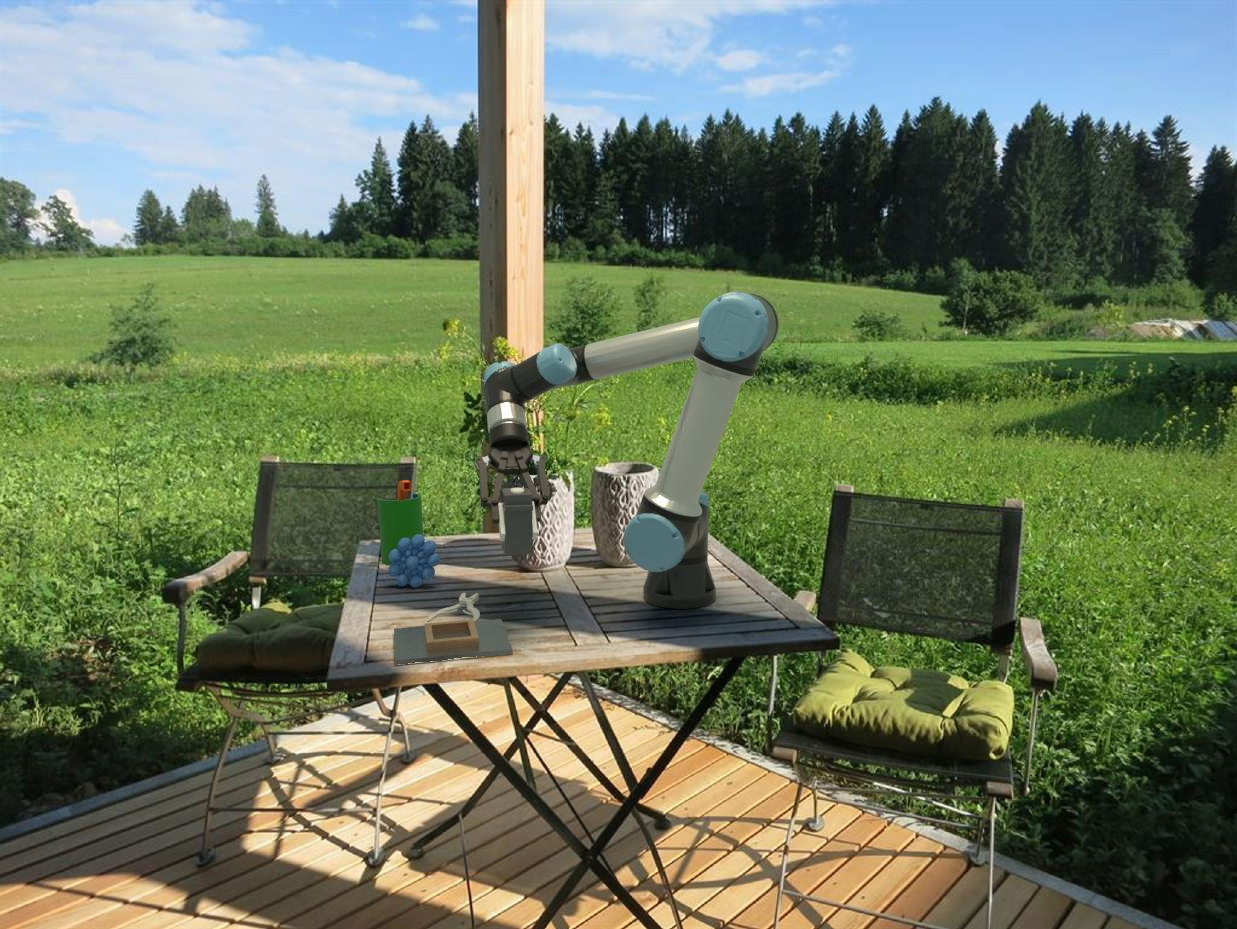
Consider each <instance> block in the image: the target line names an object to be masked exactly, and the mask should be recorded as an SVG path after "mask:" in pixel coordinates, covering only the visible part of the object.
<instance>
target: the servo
mask: <svg viewBox="0 0 1237 929" xmlns="http://www.w3.org/2000/svg"><path fill="white" fill-rule="evenodd" d="M499 502H500V503H503V513H504V523H505V541H500V544H501V545H500V546H501V549H502V551H503V554H504V556H513V555H515V556H517V555H533V552H534V551H533V550H534V549H533V540H532V510H533V505H532V493H531V492H530V490H529V489H528V488H524V487H509V488H508V487H507V488H505V487H504V488H503V487H502V489H501V493H500V498H499Z"/></svg>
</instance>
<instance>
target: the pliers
mask: <svg viewBox="0 0 1237 929" xmlns="http://www.w3.org/2000/svg"><path fill="white" fill-rule="evenodd" d="M466 594H467V593H466V592H462V593H461V594H460V596H459V597H458V603H457V604H455V605H452V606H447V607H444V608H442V609H439V610H437V611H435V612H433V613H431V614H430V615H429V616H428V617H427V618H426V623H431V621H433V620H434V619H436V618H437V617H439V616H441V615H442V616H443V615H449V614H453V612H454V613H457V612H458V609H460V608H463V607H464V608H465V607H466V610H467V611H466V610H465V609H462V612H463V613H464V614H466V615H469V616H473V618H472V619H474V621H480V617H481V614H480V610H479V609H478V608H477V607H475V606H474V604H476V603H477V602H478V601H479V599H480V595H479V593H474V594H473V595H471V596H469V597H468V596H467V597H466Z"/></svg>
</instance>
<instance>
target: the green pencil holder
mask: <svg viewBox="0 0 1237 929" xmlns="http://www.w3.org/2000/svg"><path fill="white" fill-rule="evenodd" d="M411 490H412V485H411V481H410V480H408V479H403V480H399V481H398V482H397V493H396V494H397V497H396V498H397V499H391V500H390V499H383V498H381V497H378V498H377V506H378V507H377V509H378V510H377V511H378V523H379V524H378V526H379V527H378V528H379V539H380V543H379V544H380V554H381V557H380V558H381V563H382V564H383V565H387V566H390V565H391V564H392V562H391V561H390V560H389V553H390V552H391V551H392V550H393V549H398V542H399V541H400V540H401V539H402V538H409V539H410V540H411V539H412V538H413V537H414V536H415V535H417V534H420V535H423V536H424V525H423V524H424V522H423V520H424V519H423V506H422V505H423V504H422V494H421V493H417V492H413V493H412V497H411V498H408V496H407V494H408V492H409V491H411Z"/></svg>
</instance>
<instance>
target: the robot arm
mask: <svg viewBox="0 0 1237 929" xmlns="http://www.w3.org/2000/svg"><path fill="white" fill-rule="evenodd" d="M779 322H780V321H779V316H778V314H777V310H776V309H775V307H774V306H773V304H772V303H771V302H770V301H769V300H768V299H766V298H765V297H763V296H762V295H759V294H755V293H746V292H741V291H733V292H726V293H724V294H721V295H720V296H718V297H716V298H714V299H713V300H711V301H710V302H709V303H708V304H707V305H706V306H705V308H704V309H703V311H702V313H701V315H700V316H699V317H693V318H690V319H685V320H683V321H679V322H674V323H670V324H666V325H661V326H657V327H653V328H649V329H645V330H641V331H637V332H634V333H633V332H632V333H630V334H625V335H620V336H616V337H612V338H608V339H604V340H601V341H596V342H593V343H592V342H591V343H588V344H585V345H584V344H583V345H579V346H575V347H571V348H568V347H567V346H564V344H562V343H560V342H558V343H557V342H556V343H554V344H552V345H550V346H548V347H544V348H542V349H541V350H540V351H538V352H536V353H535V354H533V355H531V356H529V357H528V358H526V359H524V360H522V361H521V362H519V363H517V364H515V363H513V362H512V361H507V360H506V361H505V360H503V361H501V362H494V363H492V364H490V365H489V366H488V367H487V368H486V369H485V371H484V373H483V384H484V385H483V393H484V396H485V406H486V417H487V431H488V444H489V445H488V446H489V452H488V454H487V455H486V456H481V455H477V456H476V457H475V461H474V462H475V464H474V467H475V469H476V471H477V473H478V479H479V480H478V482H479V497H480V506H481V507H482V508H490V511H491V522H492V524H498V532H499V541H500V542H501V541H505V523H504V513H503V503H501V502H500V497H501V489H503V483H504V479H505V476H509V475H515V476H518V478H519V480H520V481H521V484H522V486H523V488H528V489H529V490H530V492H531V493H532V505H533V510H532V541H535V540H537V538H538V525H537V522H539V523H540V522H541V519H542V509H541V506H546V505H548V502H549V498H550V493H549V486H548V485H549V484H548V479H547V472H546V462H547V455H546V454H545V453H544V454H543V453H542V454H541V455H536V454H534V453H533V451H531V449H530V442H529V441H530V440H529V434H528V426H527V424H528V423H527V417H526V407H525V404H527V403H528V402H530V401H532V400H534V399H536V398H538V397H539V396H541V395H544V394H545V393H548V392H550V391H552V390H555V389H561V388H566V387H570V386H578V385H582V384H584V383H589V382H593V381H595V380H601V379H605V378H609V377H615V376H619V375H622V374H623V375H624V374H627V373H628V374H629V373H633V372H636V371H642V370H646V369H650V368H654V367H659V366H663V365H668V364H673V363H677V362H682V361H687V360H690V359H691V360H692V359H693V360H694V362H695V364H696V370H695V373H694V375H693V378H692V382H691V385H690V387H689V390H688V393H687V396H686V399H685V401H684V404H683V407H682V409H681V413H680V416H679V418H678V421H677V424H676V427H675V430H674V432H673V435H672V438H671V441H670V443H669V446H668V449H667V451H666V454H665V457H664V460H663V462H662V465H661V468H660V471H659V474H658V477H657V478H656V483H655V485H653V486H651V487H648V488H646V489H645V490H644V492H643V495H642V497H641V500H640V503H639V506H638V508H637V511H636V514H635V516H633V517H632V519H631V520H630V521H629V522H628V523H627V525H626V528H624V533H623V540H622V541H623V546H624V549H625V552H626V553H627V555H628V558H629V559H630V560H631V561H632V563H634V564H635V565H636V566H637V567H638V568H641V569H642V570H644V571H647V575H646V578H645V581H644V583H643V588H642V589H643V591H642V596H643V600H644V601H645V602H646V603H648V604H650V605H653V606H656V607H659V608H660V607H661V608H666V609H680V610H681V609H682V610H684V609H686V610H687V609H696V608H702V607H705V606H708V605H711V604H713V603H714V602H716V597H717V596H716V595H717V594H716V593H717V589H716V588H717V587H716V585H715V581H714V578H713V575H712V572H711V569H710V565H709V559H708V557H709V556H708V554H709V552H708V550H709V549H708V548H709V510H710V505H709V497H708V496H709V495H708V494H707V493H706V492H705V491H703V488H704V485H705V483H706V480H707V477H708V475H709V472H710V469H711V468H712V464H713V462H714V459H715V456H716V454H717V450H718V448H719V445H720V442H721V440H722V437H723V434H724V432H725V429H726V426H727V425H728V422H729V418H730V417H731V413H732V411H733V408H734V405H735V403H736V400H737V398H738V395H739V392H740V390H741V386H742V384H743V383H745V382H747V381H748V380H750V379H753V378H754V376H755V373H756V371H757V368H758V366H759V364H760V363H759V362H760V360H761V357H762V354H763V353H764V351H766V350H768V349H769V348H770V347H771V345H772V344H773V343H774V342H775V340H776V338H777V335H778V334H779V326H780V325H779ZM531 463H533V466H534V467H535V469H536V473H537V483H538V487H539V488H538V489H539V493H538V492H537V489H536V487H535V484H534V481H533V480H532V478H531V475H530V473H529V468H528V467H529V465H530V464H531ZM489 464H490V465H491V466H492V468H494V469H495V470H496V471H497V473H496V474H497V475H496V478H495V484H494V487H493V493H492V496H491V497H489V493H488V492H489V491H488V490H489V488H488V477H487V476H488V475H487V469H488V468H489Z"/></svg>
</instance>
